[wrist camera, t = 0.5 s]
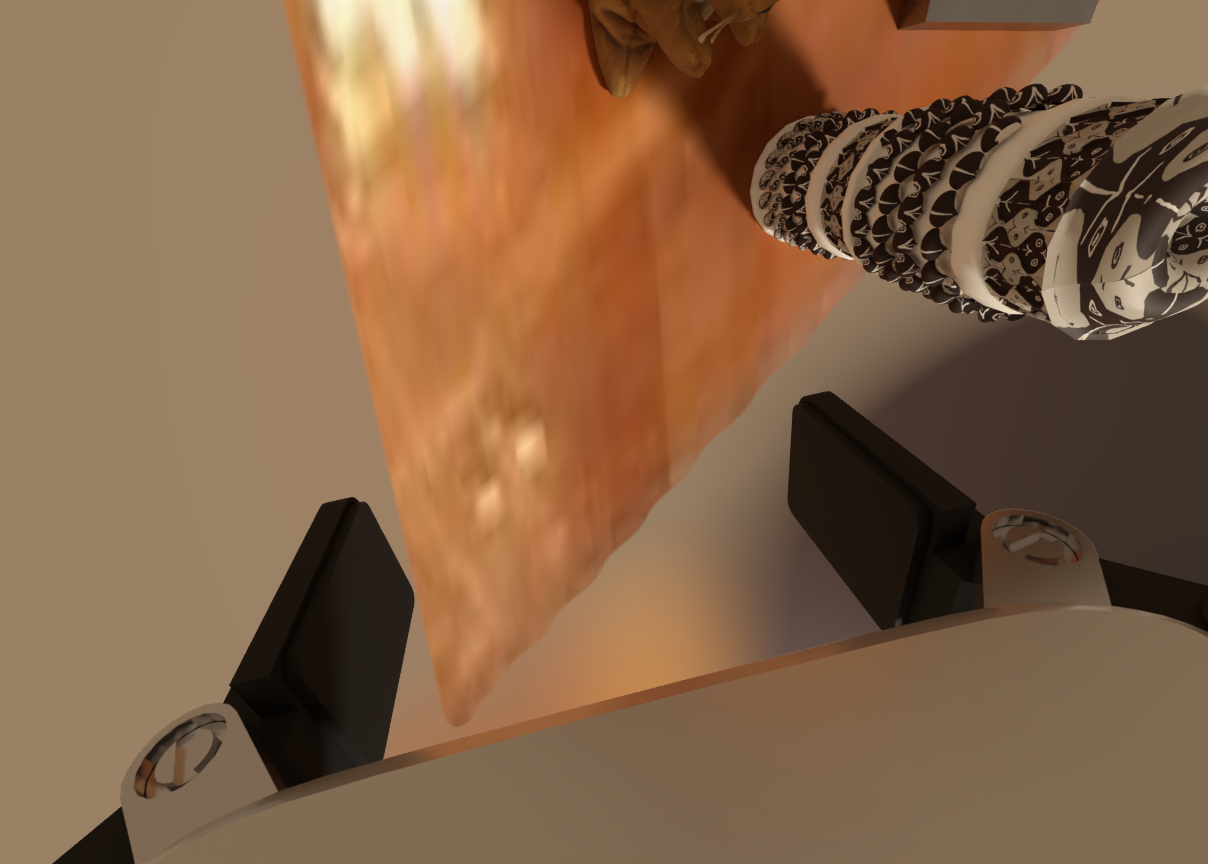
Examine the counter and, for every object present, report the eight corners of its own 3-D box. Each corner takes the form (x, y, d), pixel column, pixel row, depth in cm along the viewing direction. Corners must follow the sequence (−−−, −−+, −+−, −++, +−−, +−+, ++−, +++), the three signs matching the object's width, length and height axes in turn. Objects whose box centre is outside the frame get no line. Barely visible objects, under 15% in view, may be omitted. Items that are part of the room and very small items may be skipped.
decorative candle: (769, 271, 40) (1072, 417, 18) (726, 158, 35) (1067, 178, 14) (874, 206, 38) (1328, 282, 17) (843, 80, 34) (1417, -31, 12)
